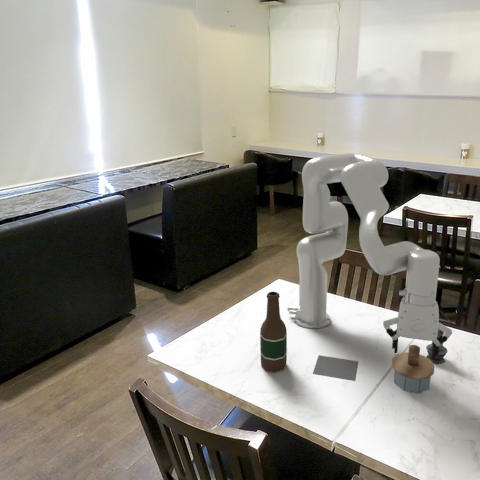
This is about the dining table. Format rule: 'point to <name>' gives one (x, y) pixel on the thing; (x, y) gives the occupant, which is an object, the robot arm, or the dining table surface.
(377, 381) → the dining table surface
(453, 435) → the dining table surface
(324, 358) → the mat
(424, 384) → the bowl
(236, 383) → the dining table surface
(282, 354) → the beer bottle
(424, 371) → the lid
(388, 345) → the dining table surface
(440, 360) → the ornate incense burner
